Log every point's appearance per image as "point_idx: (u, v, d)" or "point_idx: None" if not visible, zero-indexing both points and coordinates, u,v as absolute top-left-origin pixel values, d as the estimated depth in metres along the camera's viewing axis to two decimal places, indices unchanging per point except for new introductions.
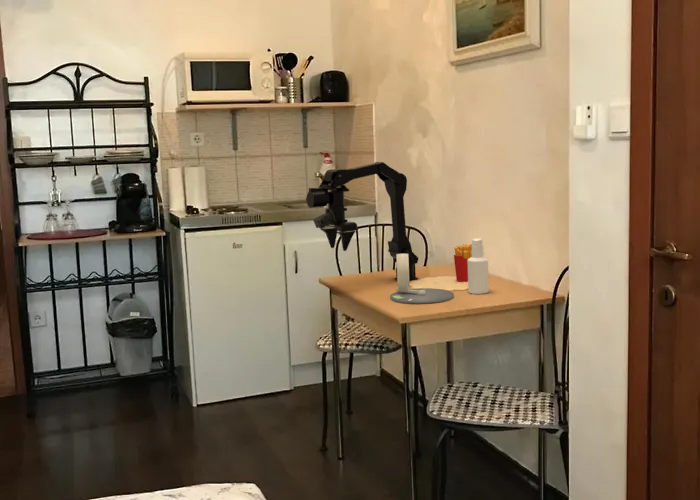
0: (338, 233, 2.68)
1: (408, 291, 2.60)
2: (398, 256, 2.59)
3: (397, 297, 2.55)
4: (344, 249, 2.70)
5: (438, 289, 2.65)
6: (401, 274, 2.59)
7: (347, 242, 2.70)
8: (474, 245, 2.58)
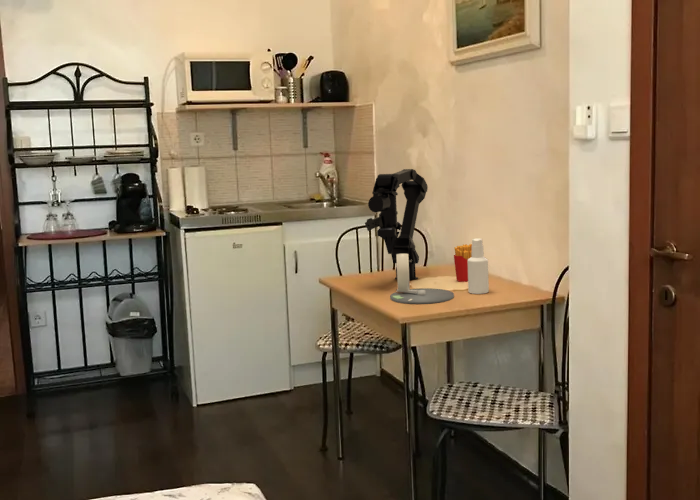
0: None
1: (408, 291, 2.60)
2: (398, 256, 2.59)
3: (397, 297, 2.55)
4: (388, 252, 2.76)
5: (438, 289, 2.65)
6: (401, 274, 2.59)
7: (390, 245, 2.74)
8: (474, 245, 2.58)
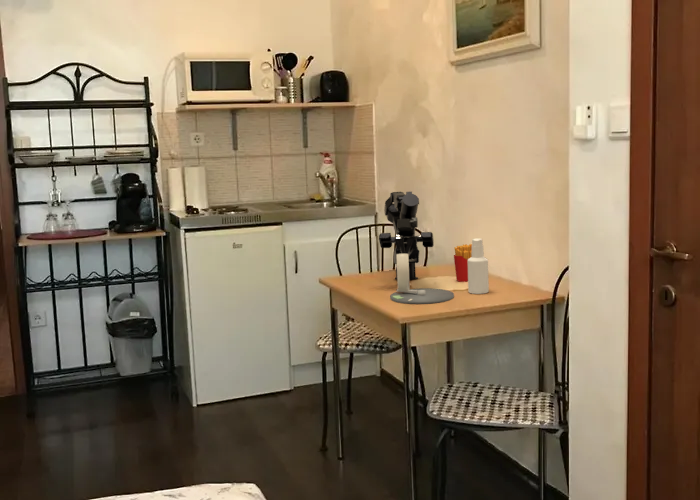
0: (408, 240, 2.69)
1: (408, 291, 2.60)
2: (398, 256, 2.59)
3: (397, 297, 2.55)
4: None
5: (438, 289, 2.65)
6: (401, 274, 2.59)
7: (409, 253, 2.70)
8: (474, 245, 2.58)
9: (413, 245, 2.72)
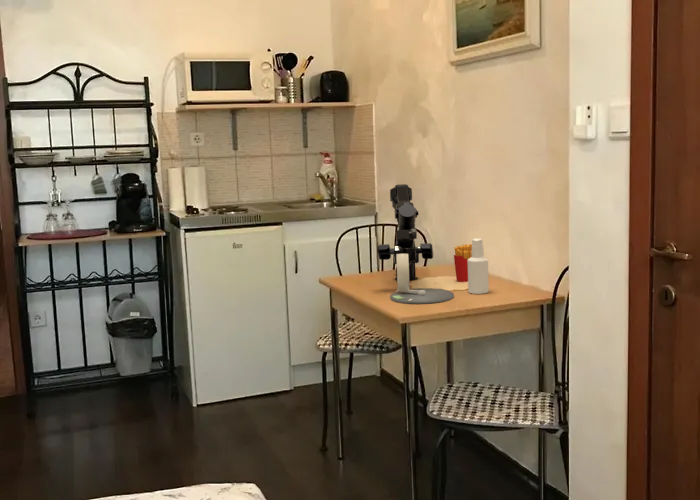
0: (407, 251, 2.65)
1: (408, 291, 2.60)
2: (398, 256, 2.59)
3: (397, 297, 2.55)
4: None
5: (438, 289, 2.65)
6: (401, 274, 2.59)
7: None
8: (474, 245, 2.58)
9: (412, 257, 2.67)
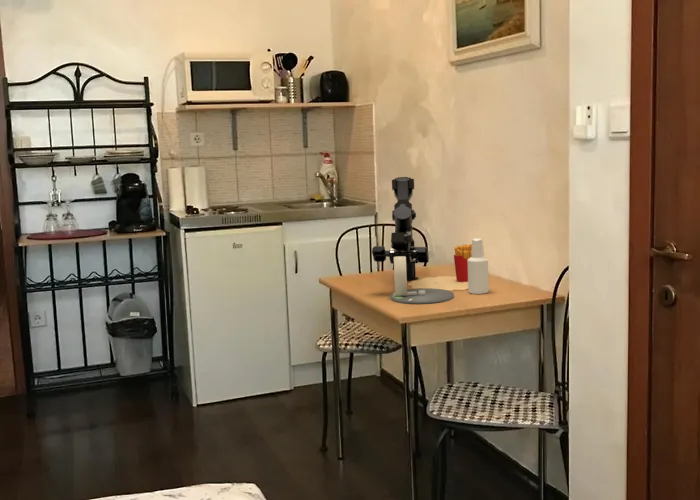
0: (401, 254, 2.60)
1: (408, 293, 2.57)
2: (400, 259, 2.53)
3: (397, 297, 2.55)
4: None
5: (438, 289, 2.65)
6: (403, 277, 2.54)
7: None
8: (474, 245, 2.58)
9: (406, 260, 2.62)
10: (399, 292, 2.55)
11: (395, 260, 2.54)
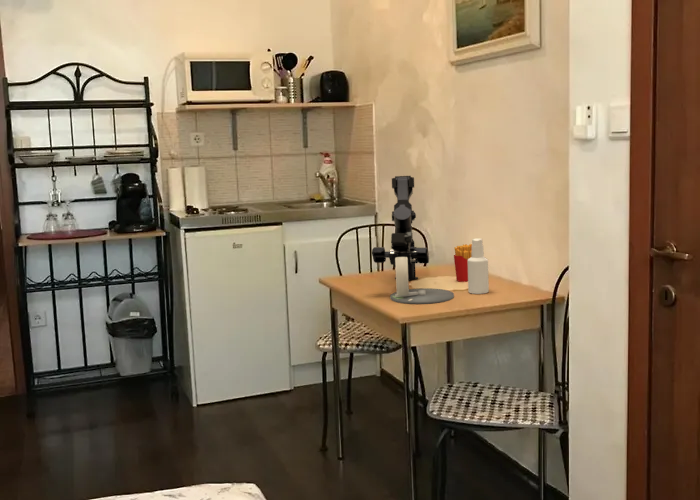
0: (401, 255, 2.58)
1: (409, 294, 2.56)
2: (403, 259, 2.52)
3: (397, 297, 2.55)
4: None
5: (438, 289, 2.65)
6: (406, 277, 2.53)
7: None
8: (474, 245, 2.58)
9: None
10: (402, 293, 2.54)
11: (398, 261, 2.52)
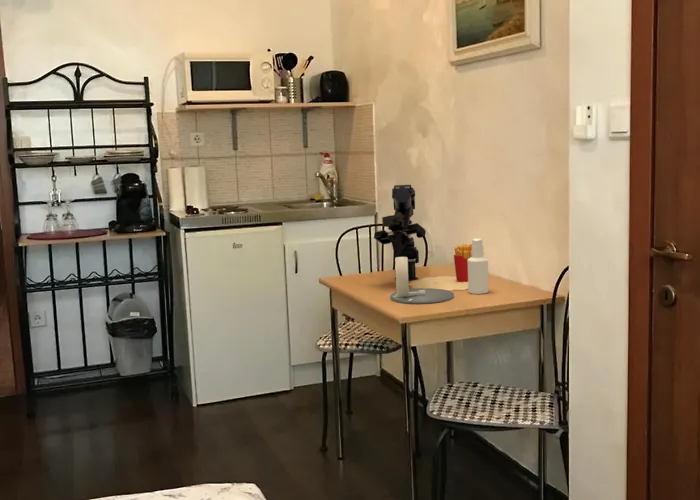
0: (396, 235, 2.71)
1: (409, 294, 2.56)
2: (403, 259, 2.52)
3: (397, 297, 2.55)
4: (396, 253, 2.70)
5: (438, 289, 2.65)
6: (406, 277, 2.53)
7: (401, 248, 2.71)
8: (474, 245, 2.58)
9: (405, 238, 2.72)
10: (402, 293, 2.54)
11: (398, 261, 2.52)
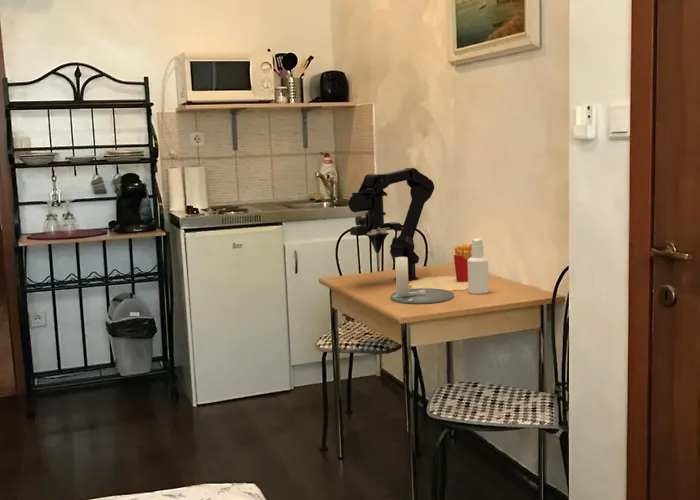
0: None
1: (409, 294, 2.56)
2: (403, 259, 2.52)
3: (397, 297, 2.55)
4: (375, 251, 2.79)
5: (438, 289, 2.65)
6: (406, 277, 2.53)
7: (374, 245, 2.78)
8: (474, 245, 2.58)
9: None
10: (402, 293, 2.54)
11: (398, 261, 2.52)
